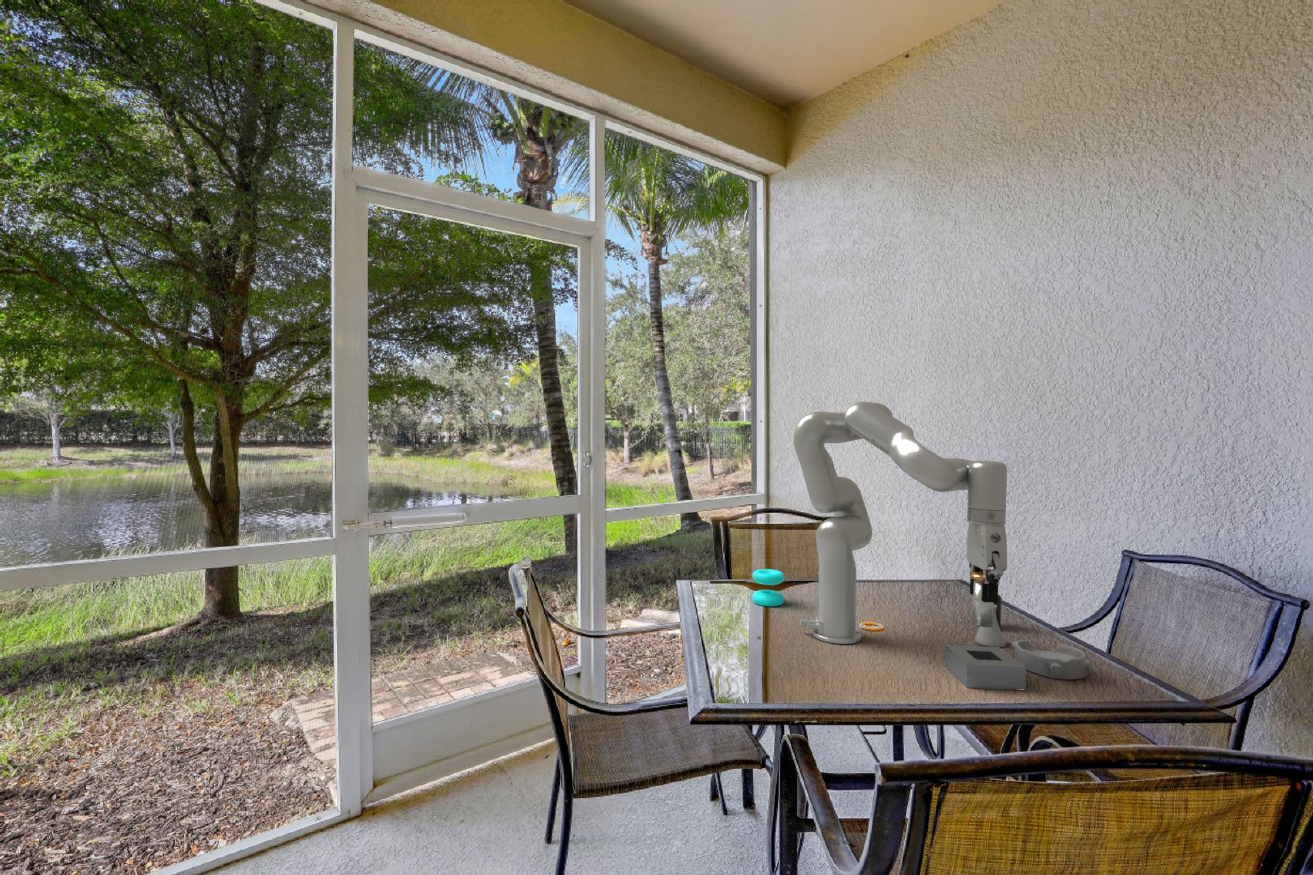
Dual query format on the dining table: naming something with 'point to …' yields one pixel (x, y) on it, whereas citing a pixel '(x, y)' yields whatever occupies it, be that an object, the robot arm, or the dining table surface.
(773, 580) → the donuts
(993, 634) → the flask
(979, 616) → the pin
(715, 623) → the dining table surface
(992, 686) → the gray square-hole block
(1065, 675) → the dish
